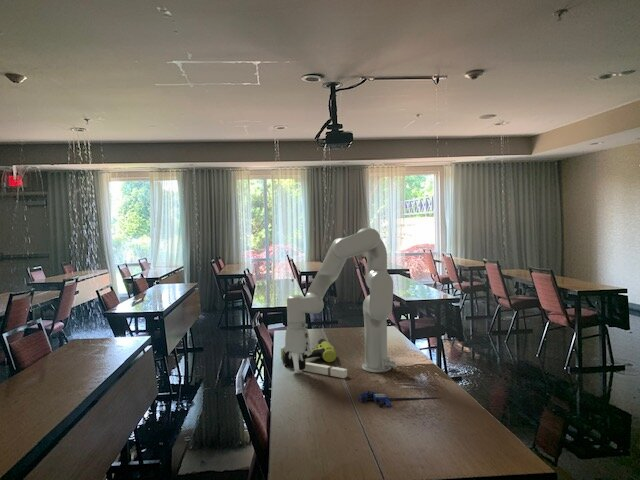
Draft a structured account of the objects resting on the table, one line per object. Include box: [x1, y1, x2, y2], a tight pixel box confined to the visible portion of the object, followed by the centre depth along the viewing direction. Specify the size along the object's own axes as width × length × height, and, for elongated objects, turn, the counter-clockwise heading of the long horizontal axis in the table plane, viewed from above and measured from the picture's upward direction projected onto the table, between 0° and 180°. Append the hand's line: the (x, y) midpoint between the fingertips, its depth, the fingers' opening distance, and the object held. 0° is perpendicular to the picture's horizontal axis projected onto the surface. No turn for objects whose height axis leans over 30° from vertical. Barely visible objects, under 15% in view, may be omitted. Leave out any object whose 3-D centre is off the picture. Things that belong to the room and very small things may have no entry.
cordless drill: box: [280, 338, 337, 368], centre depth 207 cm, size 7×25×25 cm
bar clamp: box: [359, 390, 442, 408], centre depth 153 cm, size 32×2×10 cm
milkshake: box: [291, 352, 303, 374], centre depth 185 cm, size 4×5×10 cm
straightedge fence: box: [291, 361, 348, 379], centre depth 185 cm, size 26×3×3 cm, turn 58°
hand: (297, 368), depth 185 cm, fingers closed on milkshake, 4 cm apart
